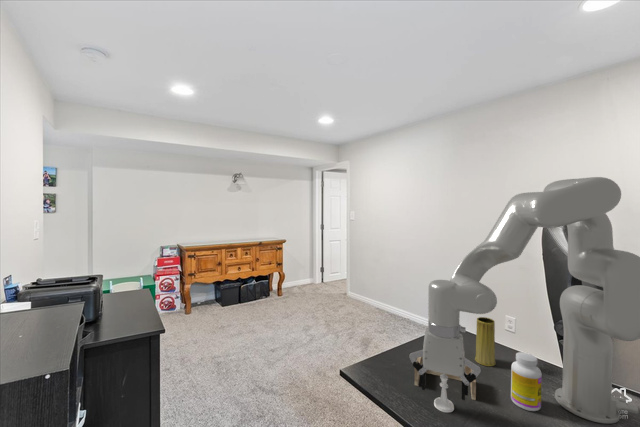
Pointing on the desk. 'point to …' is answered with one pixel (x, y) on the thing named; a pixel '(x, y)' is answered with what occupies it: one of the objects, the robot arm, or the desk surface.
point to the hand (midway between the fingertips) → (443, 391)
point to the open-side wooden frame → (467, 371)
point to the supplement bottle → (526, 382)
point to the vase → (485, 341)
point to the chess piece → (443, 397)
